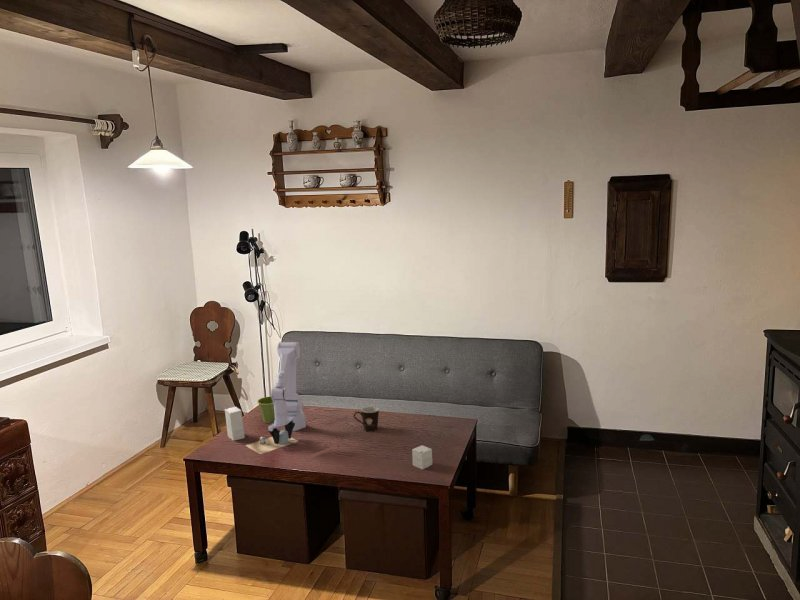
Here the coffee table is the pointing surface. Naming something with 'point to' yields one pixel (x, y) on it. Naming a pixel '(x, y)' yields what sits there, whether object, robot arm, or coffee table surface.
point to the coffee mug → (369, 418)
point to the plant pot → (267, 409)
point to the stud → (262, 440)
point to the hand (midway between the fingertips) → (282, 440)
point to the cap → (283, 437)
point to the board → (268, 445)
